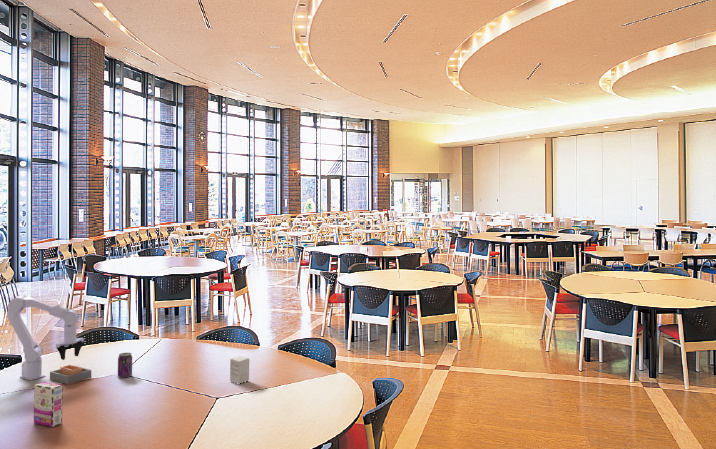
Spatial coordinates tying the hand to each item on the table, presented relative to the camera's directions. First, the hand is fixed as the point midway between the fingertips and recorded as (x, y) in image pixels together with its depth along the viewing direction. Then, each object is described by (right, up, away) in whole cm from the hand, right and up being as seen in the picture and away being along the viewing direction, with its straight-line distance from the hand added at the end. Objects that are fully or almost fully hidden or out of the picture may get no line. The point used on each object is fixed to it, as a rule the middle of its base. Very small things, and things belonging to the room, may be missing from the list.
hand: (69, 357), depth 275 cm
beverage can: (+29, -11, +1) cm, 31 cm away
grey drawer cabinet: (+92, -12, -3) cm, 93 cm away
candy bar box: (+25, -12, -61) cm, 67 cm away
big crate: (+3, -10, -5) cm, 11 cm away
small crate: (+3, -9, -5) cm, 11 cm away
